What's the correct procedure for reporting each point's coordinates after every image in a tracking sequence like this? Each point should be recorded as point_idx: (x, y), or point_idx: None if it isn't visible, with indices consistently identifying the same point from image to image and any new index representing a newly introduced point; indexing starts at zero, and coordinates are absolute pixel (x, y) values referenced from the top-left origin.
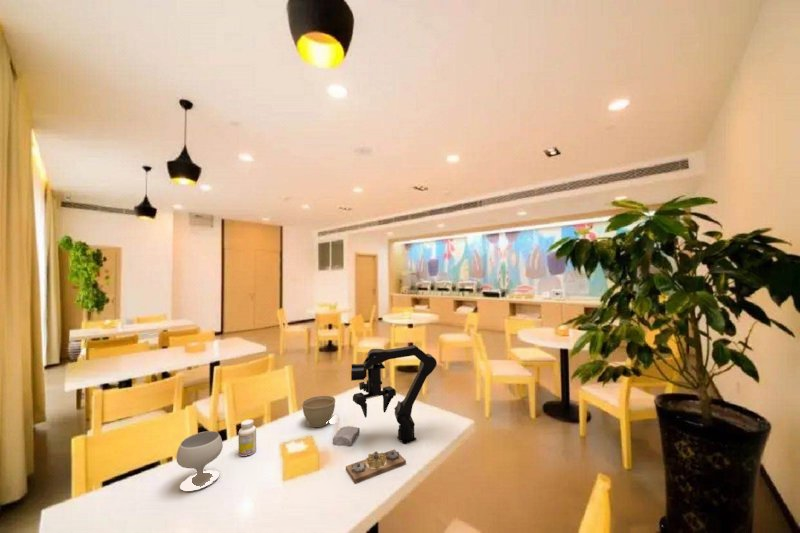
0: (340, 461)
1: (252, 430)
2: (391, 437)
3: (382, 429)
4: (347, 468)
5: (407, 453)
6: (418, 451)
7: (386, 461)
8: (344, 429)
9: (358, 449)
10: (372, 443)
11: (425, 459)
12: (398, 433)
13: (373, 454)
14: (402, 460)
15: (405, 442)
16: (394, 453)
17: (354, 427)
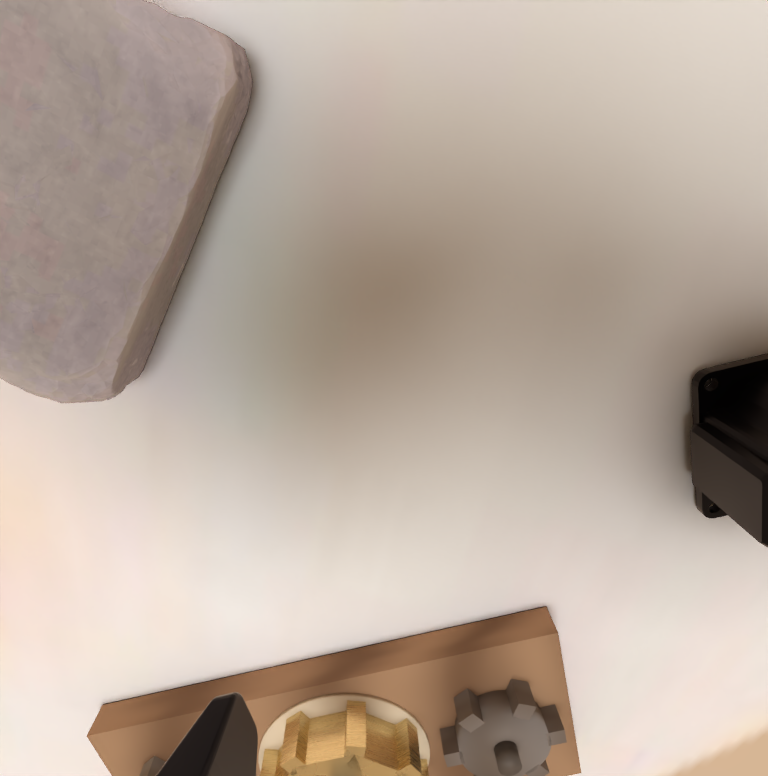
0: (41, 594)
1: None
2: (636, 336)
3: (613, 70)
4: (103, 760)
5: (646, 636)
6: (745, 634)
7: (431, 754)
8: None
9: (218, 461)
10: (387, 394)
11: (730, 727)
12: (729, 465)
13: (327, 774)
14: (555, 769)
15: (718, 514)
16: (523, 746)
17: (136, 51)
